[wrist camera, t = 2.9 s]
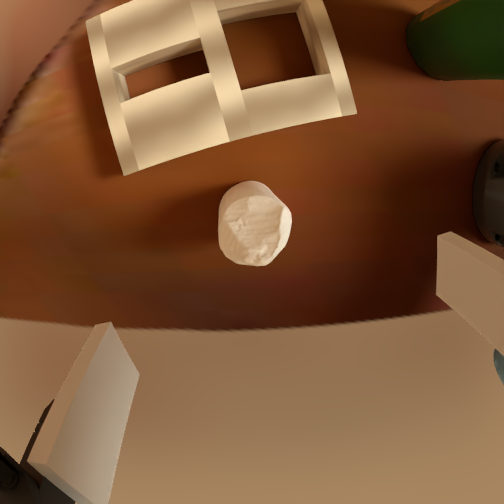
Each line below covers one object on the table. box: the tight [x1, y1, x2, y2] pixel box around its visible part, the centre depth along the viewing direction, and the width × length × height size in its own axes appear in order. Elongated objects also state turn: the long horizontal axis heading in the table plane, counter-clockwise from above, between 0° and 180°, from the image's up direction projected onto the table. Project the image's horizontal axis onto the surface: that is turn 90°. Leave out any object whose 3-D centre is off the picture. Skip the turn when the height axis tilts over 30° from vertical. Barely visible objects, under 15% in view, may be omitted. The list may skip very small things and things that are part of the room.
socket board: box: [86, 0, 357, 176], centre depth 24 cm, size 16×21×4 cm
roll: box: [218, 181, 292, 266], centre depth 25 cm, size 6×12×6 cm
